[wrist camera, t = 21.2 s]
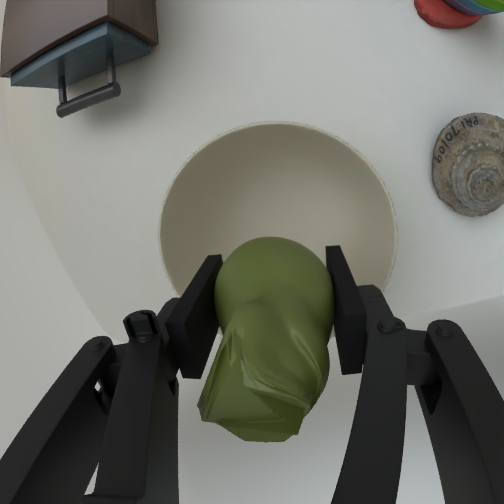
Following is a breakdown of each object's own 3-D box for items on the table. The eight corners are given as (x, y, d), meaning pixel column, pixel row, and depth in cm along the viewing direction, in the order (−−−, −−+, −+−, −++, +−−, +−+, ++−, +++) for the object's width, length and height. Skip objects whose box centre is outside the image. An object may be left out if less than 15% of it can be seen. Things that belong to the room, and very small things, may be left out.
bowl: (218, 297, 33) (194, 356, 24) (181, 147, 28) (132, 154, 18) (369, 276, 30) (396, 332, 21) (351, 115, 25) (383, 105, 16)
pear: (300, 326, 18) (301, 479, 8) (214, 297, 18) (152, 439, 8) (340, 242, 16) (396, 380, 6) (244, 206, 16) (178, 314, 6)
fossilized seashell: (433, 101, 22) (493, 117, 16) (490, 112, 24) (539, 129, 18) (423, 207, 27) (472, 240, 21) (479, 198, 29) (521, 224, 23)
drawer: (154, 92, 25) (110, 82, 18) (63, 123, 27) (12, 127, 19) (145, -44, 19) (111, -76, 12) (60, -5, 21) (19, -21, 13)
